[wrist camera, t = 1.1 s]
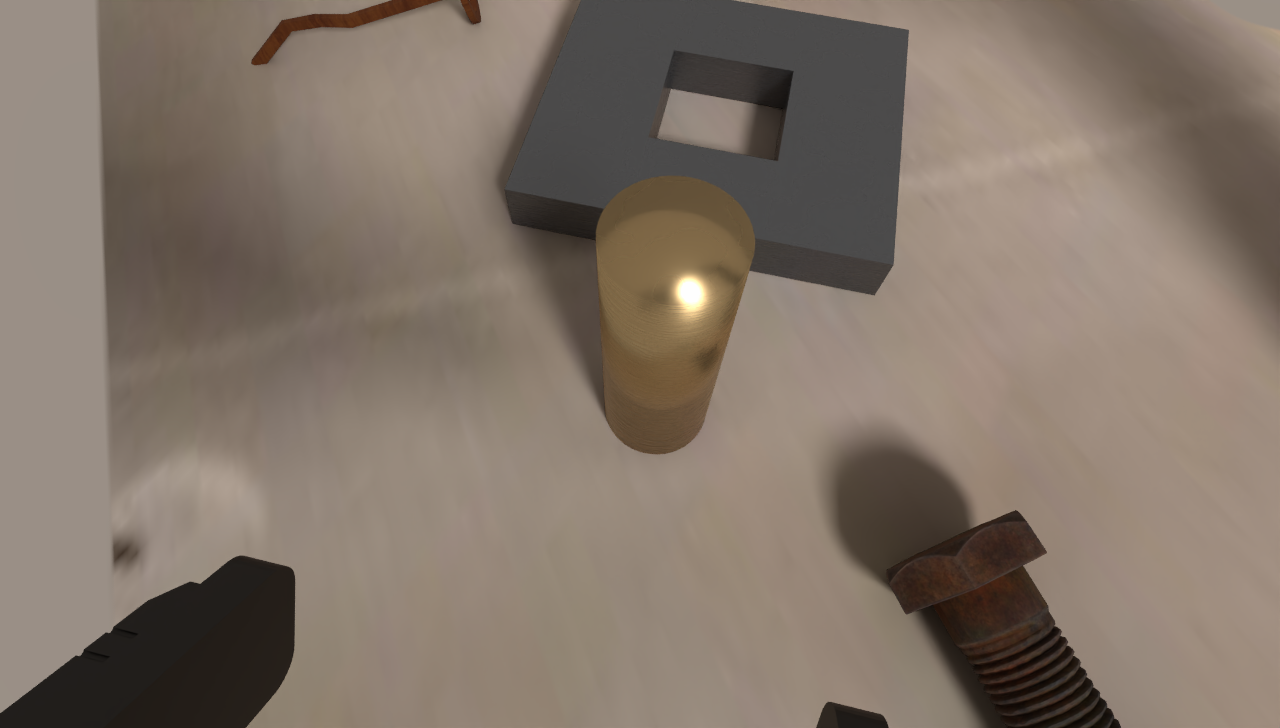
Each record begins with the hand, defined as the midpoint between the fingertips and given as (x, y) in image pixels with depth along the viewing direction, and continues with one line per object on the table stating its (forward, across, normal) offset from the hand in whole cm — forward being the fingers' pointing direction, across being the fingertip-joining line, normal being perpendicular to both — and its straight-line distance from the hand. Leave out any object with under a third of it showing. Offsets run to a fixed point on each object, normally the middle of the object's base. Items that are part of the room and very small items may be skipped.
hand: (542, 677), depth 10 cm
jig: (+31, 0, -8) cm, 32 cm away
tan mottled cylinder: (+19, 0, +3) cm, 20 cm away
